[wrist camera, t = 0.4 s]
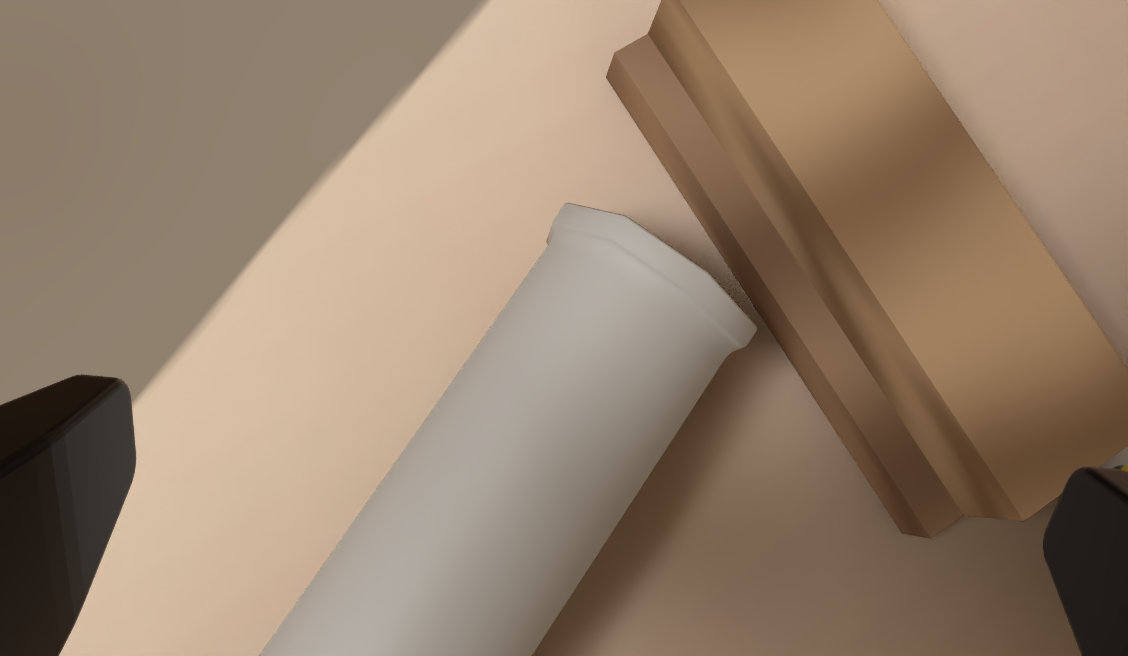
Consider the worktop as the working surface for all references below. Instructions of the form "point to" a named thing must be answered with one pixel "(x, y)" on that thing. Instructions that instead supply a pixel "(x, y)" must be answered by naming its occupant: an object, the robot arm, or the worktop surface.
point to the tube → (526, 453)
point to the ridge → (879, 253)
